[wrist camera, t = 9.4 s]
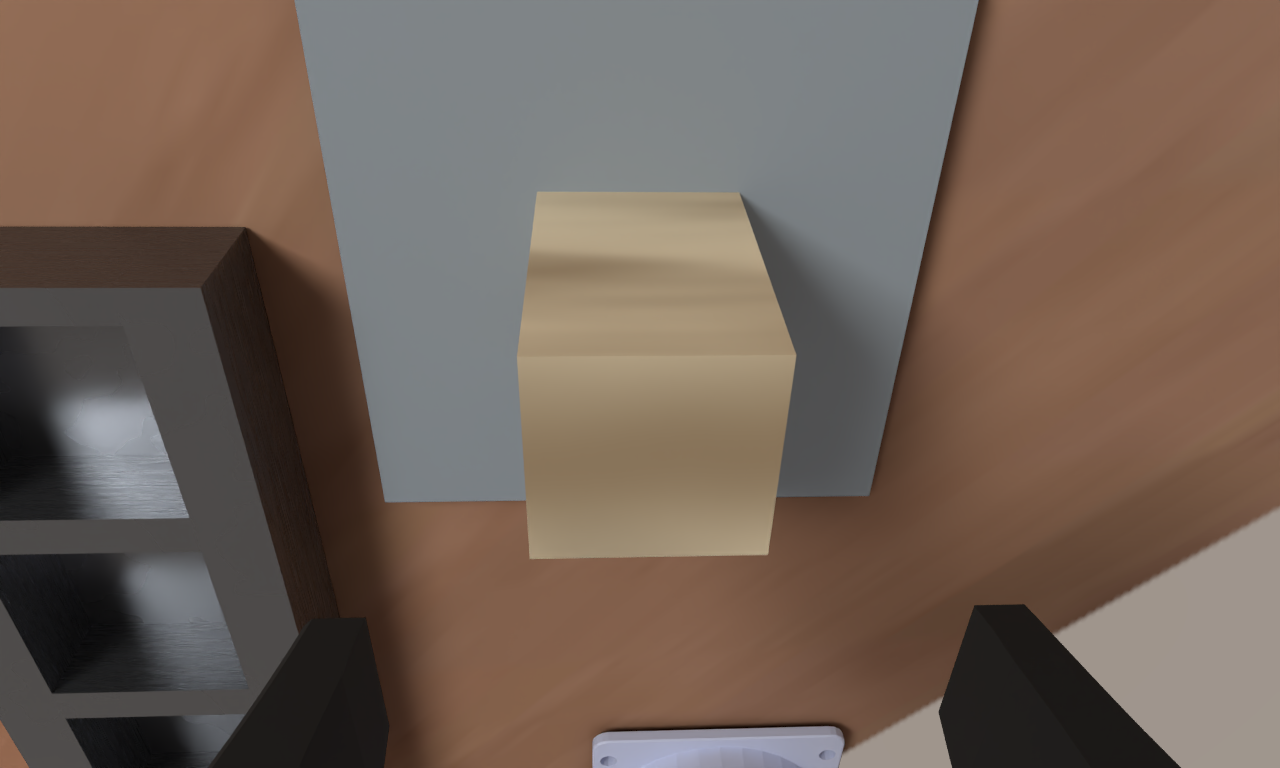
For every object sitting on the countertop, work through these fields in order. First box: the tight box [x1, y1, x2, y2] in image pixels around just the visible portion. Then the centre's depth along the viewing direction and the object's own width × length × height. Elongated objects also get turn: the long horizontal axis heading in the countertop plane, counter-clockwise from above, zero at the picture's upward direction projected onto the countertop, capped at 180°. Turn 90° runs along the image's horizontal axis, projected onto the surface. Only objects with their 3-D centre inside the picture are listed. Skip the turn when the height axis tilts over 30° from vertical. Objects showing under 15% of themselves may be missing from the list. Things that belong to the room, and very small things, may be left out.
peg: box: [517, 192, 796, 559], centre depth 16 cm, size 4×4×6 cm
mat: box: [295, 0, 979, 502], centre depth 19 cm, size 12×12×1 cm
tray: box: [0, 227, 340, 768], centre depth 22 cm, size 18×8×3 cm, turn 179°
